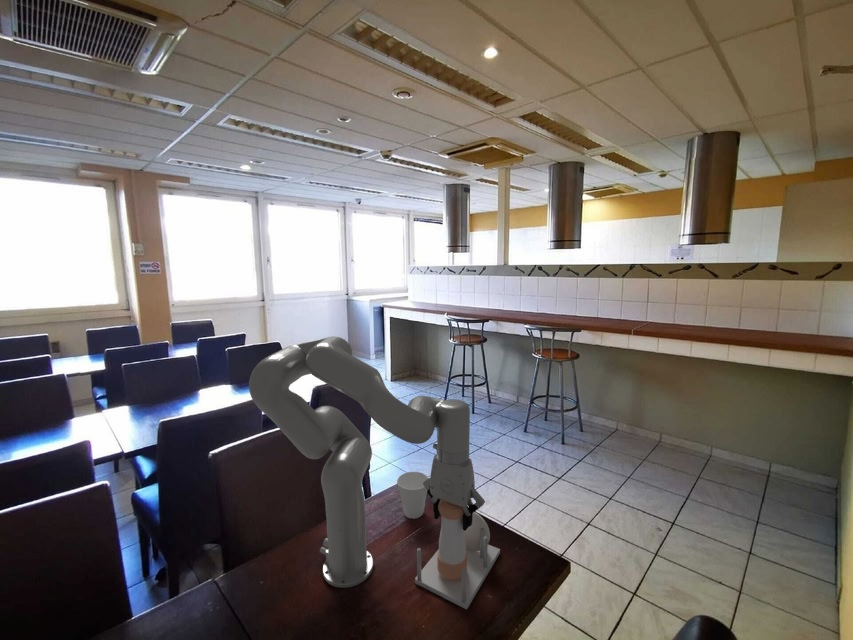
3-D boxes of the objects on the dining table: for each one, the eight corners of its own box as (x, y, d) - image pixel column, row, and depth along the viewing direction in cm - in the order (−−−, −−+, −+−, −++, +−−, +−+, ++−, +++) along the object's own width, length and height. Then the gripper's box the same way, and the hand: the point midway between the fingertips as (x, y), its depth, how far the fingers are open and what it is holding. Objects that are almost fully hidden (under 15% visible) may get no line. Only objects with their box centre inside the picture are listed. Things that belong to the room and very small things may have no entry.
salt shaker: (464, 555, 102) (465, 487, 99) (469, 578, 95) (470, 505, 92) (435, 557, 102) (436, 488, 98) (439, 580, 94) (439, 507, 91)
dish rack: (414, 583, 97) (414, 537, 95) (453, 534, 113) (453, 494, 111) (466, 609, 89) (467, 561, 87) (499, 553, 106) (501, 511, 104)
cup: (416, 528, 116) (415, 493, 114) (390, 515, 122) (390, 482, 120) (436, 510, 124) (435, 478, 122) (411, 499, 130) (410, 468, 128)
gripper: (413, 450, 95) (413, 517, 97) (480, 470, 85) (479, 544, 88) (429, 437, 101) (429, 501, 104) (494, 455, 92) (492, 525, 95)
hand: (452, 520), depth 96 cm, fingers closed on salt shaker, 7 cm apart
